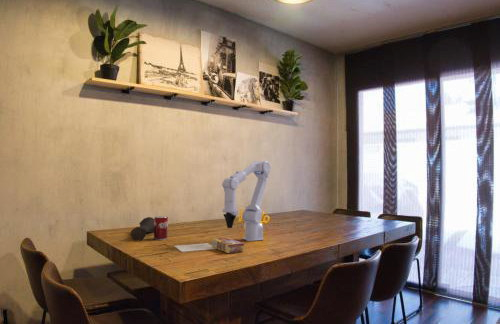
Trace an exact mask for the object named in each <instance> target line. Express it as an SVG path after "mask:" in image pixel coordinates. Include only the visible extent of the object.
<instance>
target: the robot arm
mask: <svg viewBox="0 0 500 324" xmlns="http://www.w3.org/2000/svg"><path fill="white" fill-rule="evenodd" d="M271 169H272V166H271V164H270V162H269V161H267V160H262V161H261V160H254V161H252V162H250V164H249V165H248V166H246V167H245V169H243V170H236V172H235V173H233V174H232V175H230V176H229V177H226V178H224V180H223V181H222V184H221V186H222V188H223V192H224V205H223V207H224V208H222V210H221V211H222V213H224V214H223V217H224V219H225V223H226V228H227V229H233V225H234V221H235V219H236V217H237V216H238V215H239V214H238V213H239V212H238V210H236V205H237V203H236V202H237V201H236V198H237V197H236V196H237V195H236V194H237V189H238V187H239V185H241V183H242V182H244V181H245V180H246V179H247V176H249V175H250V174H252V173H253V174H254V176H255V177H256V178H257V181H256V185H255V188H254V191H253V193H252V197H251V200H250V203H249V205H247V206H246V207H245V209H244V211H243V212H242V213H241V214H242V215H241V216H242V221H243V222H244V223H245V226H244V237H241V239H242V240H244V241H248V242H252V241H264V226H263V224H262V223H261V221H262V216H263V215H262V214H263V210H262V209H261V208H260V207H261V203H262V201H263V197H264V194H265V190H266V187H267V184H268V182H269V181H268V180H269V175H270V172H271Z"/></svg>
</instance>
